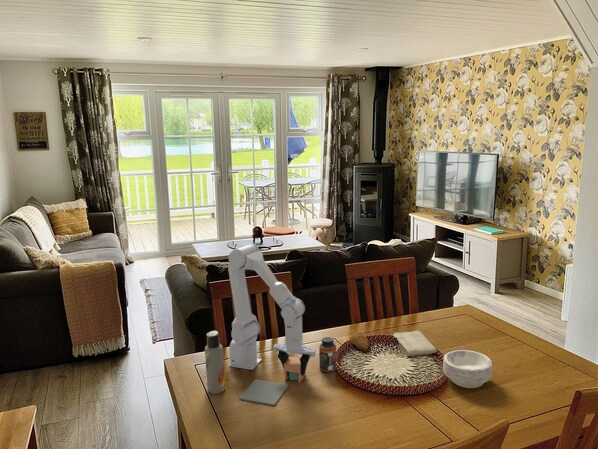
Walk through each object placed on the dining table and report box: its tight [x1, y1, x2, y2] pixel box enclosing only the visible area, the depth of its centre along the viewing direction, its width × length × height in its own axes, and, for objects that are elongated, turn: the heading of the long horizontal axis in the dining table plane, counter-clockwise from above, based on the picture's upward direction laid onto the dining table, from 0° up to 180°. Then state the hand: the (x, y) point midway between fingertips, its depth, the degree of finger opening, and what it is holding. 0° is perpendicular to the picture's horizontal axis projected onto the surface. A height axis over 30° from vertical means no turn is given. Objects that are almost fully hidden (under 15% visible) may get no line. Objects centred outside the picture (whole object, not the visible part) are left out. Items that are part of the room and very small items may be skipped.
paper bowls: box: [442, 349, 493, 389], centre depth 160 cm, size 15×15×8 cm
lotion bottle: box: [204, 330, 226, 395], centre depth 158 cm, size 6×6×20 cm
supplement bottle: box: [318, 336, 337, 373], centre depth 170 cm, size 6×6×11 cm
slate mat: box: [239, 379, 290, 407], centre depth 157 cm, size 12×12×1 cm
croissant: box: [350, 333, 370, 353], centre depth 189 cm, size 14×7×5 cm, turn 14°
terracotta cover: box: [283, 356, 306, 383], centre depth 165 cm, size 6×6×6 cm
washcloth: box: [392, 330, 437, 357], centre depth 188 cm, size 12×18×3 cm, turn 9°
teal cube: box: [288, 372, 298, 381], centre depth 166 cm, size 3×3×3 cm
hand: (295, 372), depth 166 cm, fingers closed on terracotta cover, 5 cm apart
